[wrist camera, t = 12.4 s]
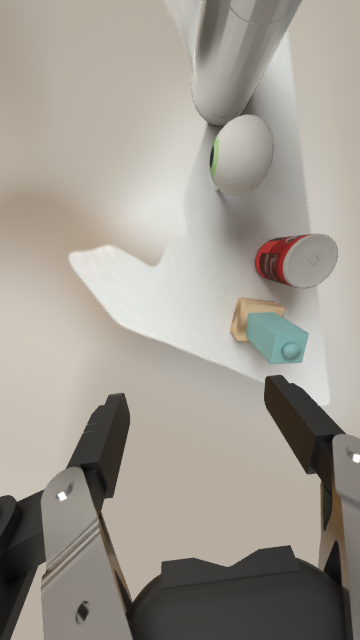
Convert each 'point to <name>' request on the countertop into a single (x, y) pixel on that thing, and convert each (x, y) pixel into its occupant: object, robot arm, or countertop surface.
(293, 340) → the teal brick
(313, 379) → the countertop surface
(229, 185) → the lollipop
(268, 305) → the wooden block
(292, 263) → the canned food
